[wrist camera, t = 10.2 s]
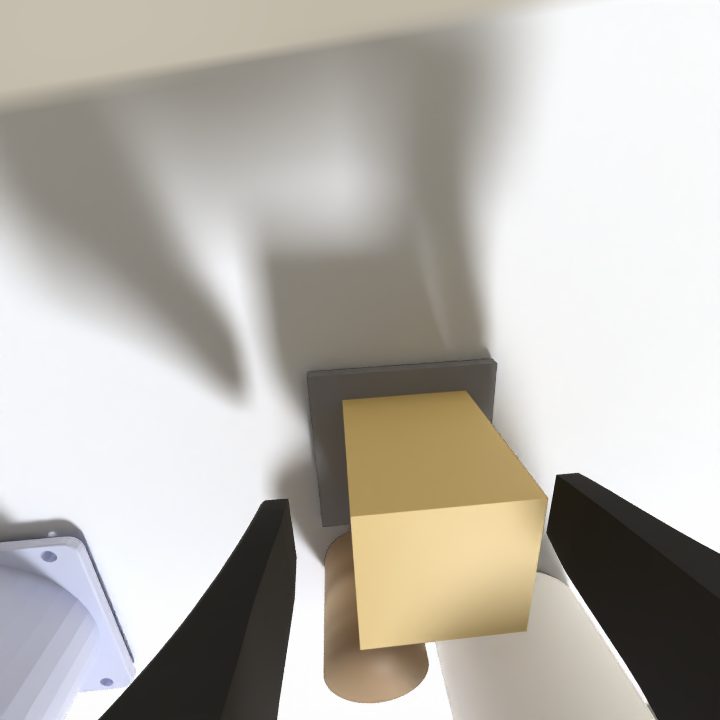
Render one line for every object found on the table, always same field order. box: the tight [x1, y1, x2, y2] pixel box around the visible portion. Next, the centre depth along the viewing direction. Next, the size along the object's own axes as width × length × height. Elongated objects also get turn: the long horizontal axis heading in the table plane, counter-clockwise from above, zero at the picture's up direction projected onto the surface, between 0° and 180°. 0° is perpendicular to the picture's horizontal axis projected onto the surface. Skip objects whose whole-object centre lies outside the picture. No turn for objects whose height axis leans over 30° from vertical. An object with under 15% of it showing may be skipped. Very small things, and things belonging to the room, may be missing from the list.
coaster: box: [307, 359, 497, 527], centre depth 13 cm, size 6×6×1 cm
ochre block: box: [342, 390, 548, 650], centre depth 11 cm, size 4×4×5 cm
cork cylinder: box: [324, 531, 429, 703], centre depth 13 cm, size 3×3×4 cm
